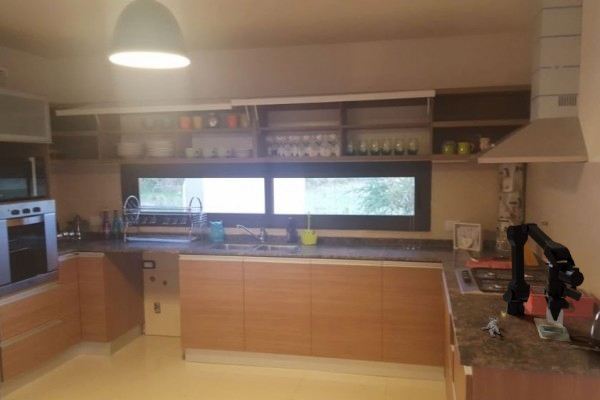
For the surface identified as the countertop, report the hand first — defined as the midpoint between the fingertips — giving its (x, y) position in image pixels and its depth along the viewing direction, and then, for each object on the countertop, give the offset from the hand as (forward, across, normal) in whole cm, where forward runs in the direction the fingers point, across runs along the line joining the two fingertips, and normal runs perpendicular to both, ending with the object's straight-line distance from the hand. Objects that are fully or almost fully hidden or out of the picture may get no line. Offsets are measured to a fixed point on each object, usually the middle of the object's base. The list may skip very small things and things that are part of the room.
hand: (554, 318), depth 175 cm
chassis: (+7, +6, 0) cm, 9 cm away
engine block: (+1, 0, 0) cm, 1 cm away
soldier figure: (+7, -2, +22) cm, 23 cm away
